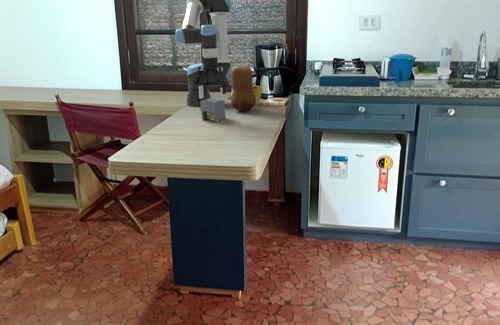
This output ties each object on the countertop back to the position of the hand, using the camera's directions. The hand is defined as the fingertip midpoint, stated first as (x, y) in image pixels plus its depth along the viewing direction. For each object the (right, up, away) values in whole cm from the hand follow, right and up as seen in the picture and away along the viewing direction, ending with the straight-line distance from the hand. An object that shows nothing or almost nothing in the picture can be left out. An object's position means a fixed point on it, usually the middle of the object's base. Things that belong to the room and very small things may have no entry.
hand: (212, 99), depth 249 cm
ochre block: (0, -10, +4) cm, 11 cm away
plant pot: (+22, +2, +37) cm, 43 cm away
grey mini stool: (0, -10, +4) cm, 11 cm away
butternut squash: (+16, -4, +20) cm, 26 cm away
